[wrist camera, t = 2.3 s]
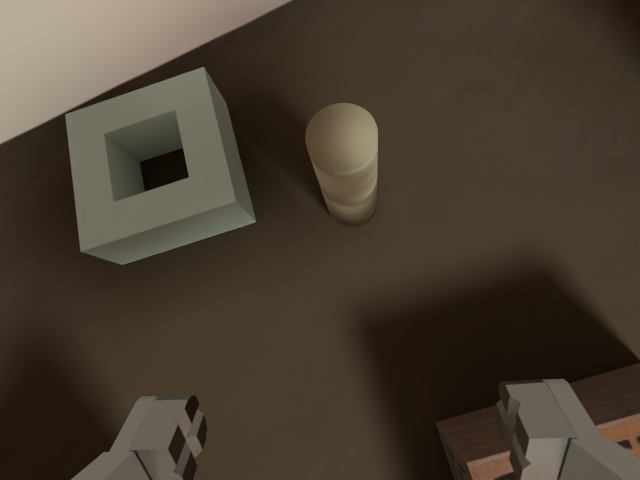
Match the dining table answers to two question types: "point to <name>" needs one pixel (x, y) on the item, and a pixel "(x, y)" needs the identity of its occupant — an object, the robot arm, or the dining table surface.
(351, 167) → the peg
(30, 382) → the dining table surface
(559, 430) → the robot arm
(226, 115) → the socket block
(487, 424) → the tissue box cover
